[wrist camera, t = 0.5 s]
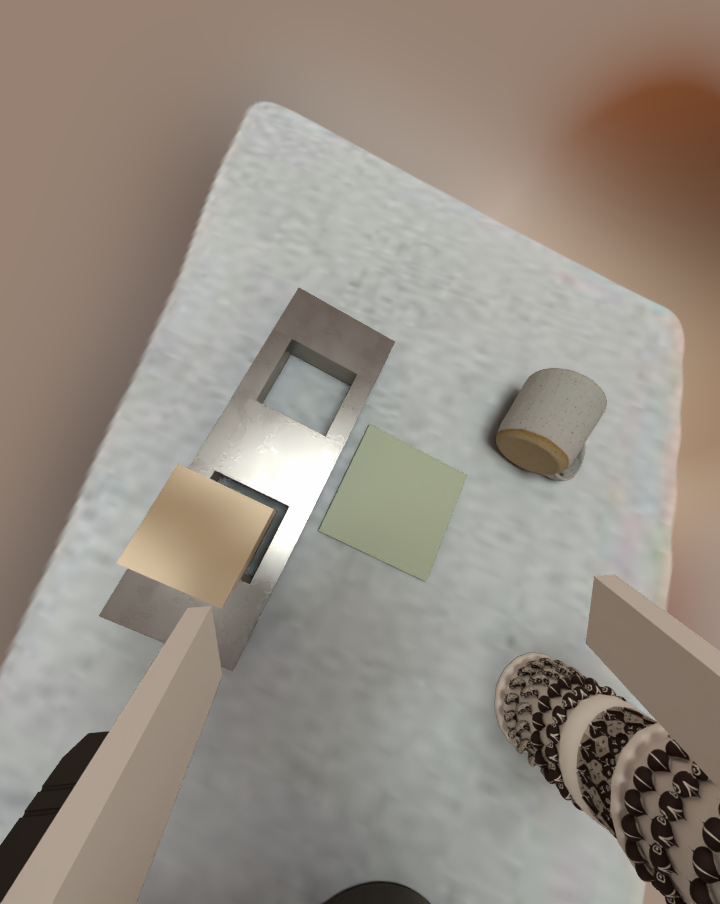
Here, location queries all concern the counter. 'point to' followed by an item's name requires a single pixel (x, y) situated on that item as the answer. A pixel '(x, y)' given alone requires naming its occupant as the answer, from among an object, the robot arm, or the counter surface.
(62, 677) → the counter surface
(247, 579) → the grey flat slotted plate
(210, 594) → the peg
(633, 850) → the decorative candle
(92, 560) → the counter surface
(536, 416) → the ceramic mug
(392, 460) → the mat
